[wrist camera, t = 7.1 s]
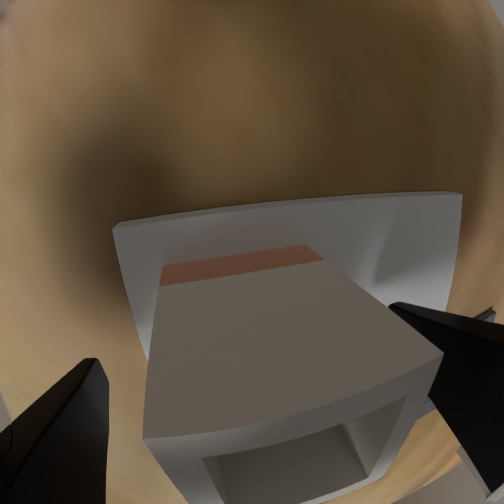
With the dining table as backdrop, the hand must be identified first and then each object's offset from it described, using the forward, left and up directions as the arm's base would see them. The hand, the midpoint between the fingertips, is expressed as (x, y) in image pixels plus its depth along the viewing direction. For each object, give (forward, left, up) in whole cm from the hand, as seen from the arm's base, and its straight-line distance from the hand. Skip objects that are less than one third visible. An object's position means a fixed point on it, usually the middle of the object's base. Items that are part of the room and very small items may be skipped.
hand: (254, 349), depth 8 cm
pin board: (-3, +2, -3) cm, 5 cm away
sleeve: (0, 0, -2) cm, 2 cm away
